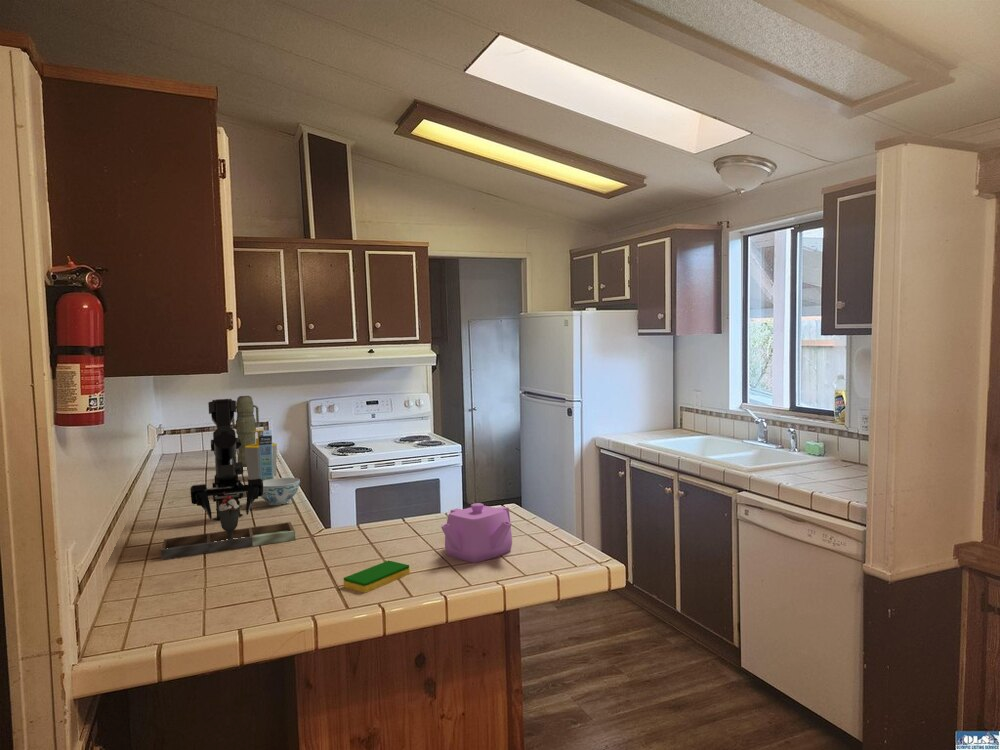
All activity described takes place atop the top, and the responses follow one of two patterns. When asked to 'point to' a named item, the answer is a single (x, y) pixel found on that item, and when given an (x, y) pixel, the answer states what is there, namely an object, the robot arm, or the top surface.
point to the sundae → (229, 514)
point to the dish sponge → (376, 576)
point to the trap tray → (207, 544)
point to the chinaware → (279, 490)
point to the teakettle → (478, 533)
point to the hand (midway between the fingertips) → (229, 516)
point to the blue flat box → (266, 455)
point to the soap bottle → (257, 458)
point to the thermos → (245, 425)
